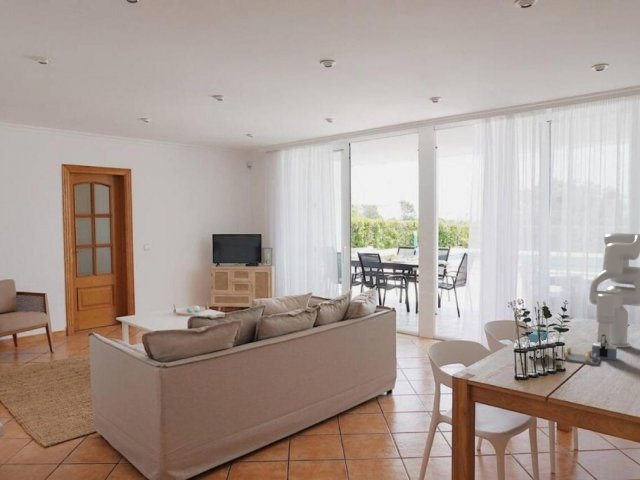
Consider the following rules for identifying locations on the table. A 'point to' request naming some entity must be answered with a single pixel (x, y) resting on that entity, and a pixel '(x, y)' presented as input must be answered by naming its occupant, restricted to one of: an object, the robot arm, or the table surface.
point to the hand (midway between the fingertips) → (604, 354)
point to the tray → (582, 357)
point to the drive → (610, 351)
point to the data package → (534, 337)
